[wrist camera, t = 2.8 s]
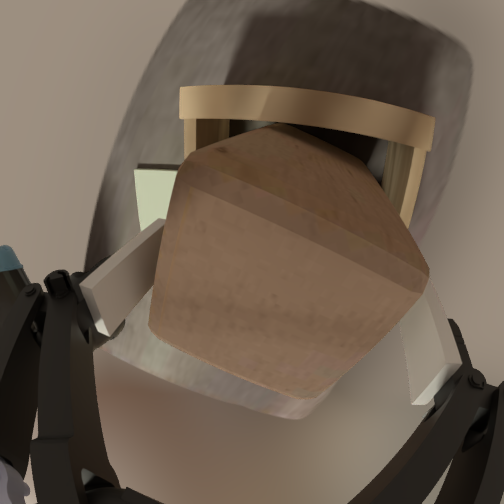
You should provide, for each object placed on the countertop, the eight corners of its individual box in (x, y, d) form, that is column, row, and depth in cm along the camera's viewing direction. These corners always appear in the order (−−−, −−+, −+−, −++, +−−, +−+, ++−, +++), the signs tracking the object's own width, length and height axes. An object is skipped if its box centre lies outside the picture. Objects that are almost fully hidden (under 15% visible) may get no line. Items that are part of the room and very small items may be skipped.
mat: (144, 239, 36) (142, 241, 35) (136, 168, 31) (134, 169, 30) (211, 251, 34) (209, 253, 34) (210, 172, 29) (208, 173, 28)
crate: (218, 245, 33) (188, 288, 26) (221, 91, 24) (179, 87, 17) (367, 271, 30) (376, 323, 23) (401, 114, 21) (435, 117, 13)
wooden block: (276, 118, 24) (171, 146, 8) (368, 163, 24) (447, 281, 8) (242, 203, 30) (139, 336, 13) (324, 242, 30) (310, 410, 13)
